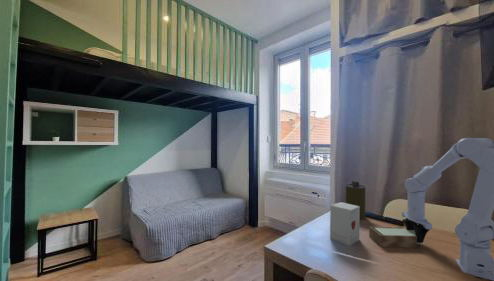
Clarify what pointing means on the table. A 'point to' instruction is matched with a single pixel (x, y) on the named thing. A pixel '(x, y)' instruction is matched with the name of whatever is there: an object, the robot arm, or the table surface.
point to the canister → (356, 196)
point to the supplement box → (344, 223)
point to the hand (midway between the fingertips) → (415, 239)
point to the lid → (396, 232)
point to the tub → (392, 239)
